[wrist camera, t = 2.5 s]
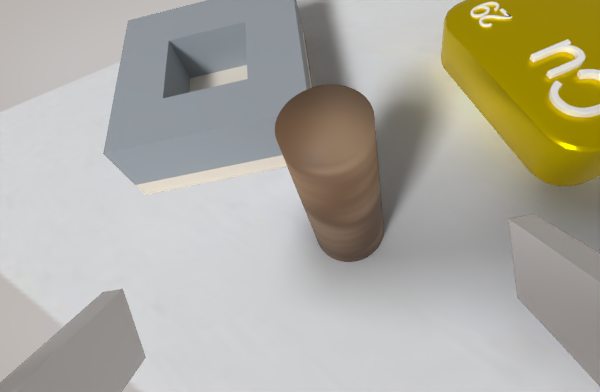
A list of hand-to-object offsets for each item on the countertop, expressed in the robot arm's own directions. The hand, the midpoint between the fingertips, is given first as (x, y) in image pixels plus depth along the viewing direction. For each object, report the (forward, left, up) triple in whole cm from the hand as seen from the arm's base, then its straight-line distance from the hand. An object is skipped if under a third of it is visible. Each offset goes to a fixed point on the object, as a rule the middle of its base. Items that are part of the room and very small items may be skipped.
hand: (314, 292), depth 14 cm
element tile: (-19, -17, -12) cm, 28 cm away
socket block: (+7, -21, -12) cm, 25 cm away
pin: (-1, -8, -12) cm, 14 cm away
